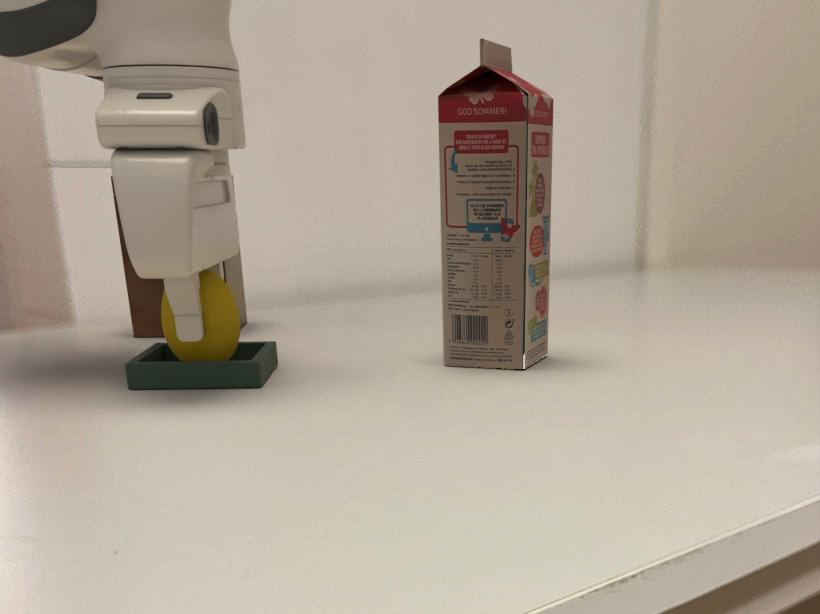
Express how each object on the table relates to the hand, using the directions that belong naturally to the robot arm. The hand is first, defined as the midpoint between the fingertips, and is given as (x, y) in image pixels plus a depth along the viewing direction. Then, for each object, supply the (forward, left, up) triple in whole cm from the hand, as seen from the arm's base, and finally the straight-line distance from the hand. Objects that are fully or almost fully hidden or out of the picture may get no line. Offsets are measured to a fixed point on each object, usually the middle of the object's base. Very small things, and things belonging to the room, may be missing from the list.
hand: (202, 333), depth 74 cm
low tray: (0, 0, -3) cm, 3 cm away
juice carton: (+22, +5, -3) cm, 23 cm away
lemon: (0, 0, -3) cm, 3 cm away
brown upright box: (-6, +25, -3) cm, 25 cm away
